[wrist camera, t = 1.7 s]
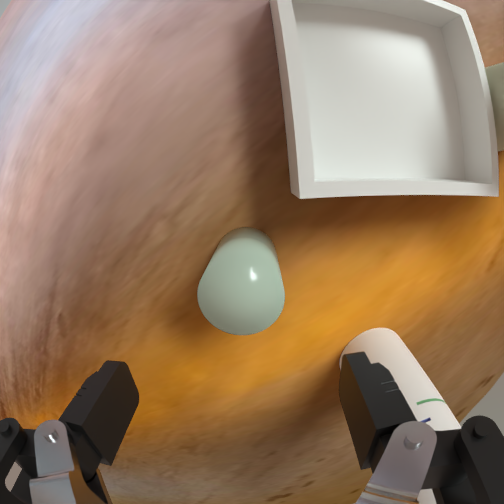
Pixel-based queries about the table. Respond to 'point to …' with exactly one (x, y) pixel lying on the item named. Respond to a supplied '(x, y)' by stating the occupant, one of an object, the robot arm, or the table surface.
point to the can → (497, 99)
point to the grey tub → (384, 99)
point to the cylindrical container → (406, 382)
